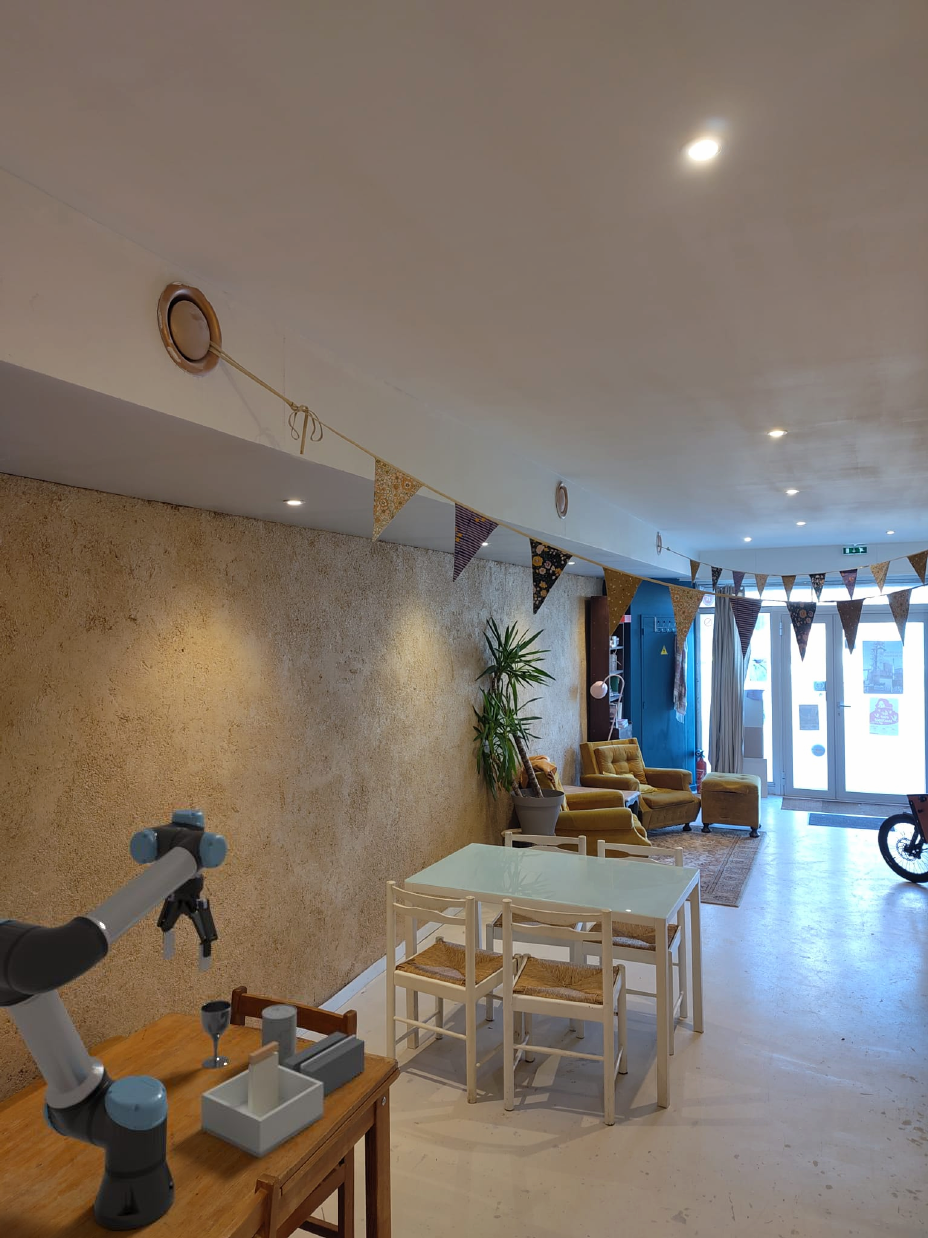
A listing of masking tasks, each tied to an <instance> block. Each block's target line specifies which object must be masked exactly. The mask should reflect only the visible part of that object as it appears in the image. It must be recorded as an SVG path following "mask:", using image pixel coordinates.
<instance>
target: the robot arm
mask: <svg viewBox="0 0 928 1238" xmlns="http://www.w3.org/2000/svg"><path fill="white" fill-rule="evenodd" d="M170 821H171V822H170V823H166V824H161V825H158V826H154V827H153V826H152V827H147V828H145V829H142V830H140V831H137V832H136V833H134V834H133V835H132V837H131V839H130V841H129V853H130V856H131V858H132V859H133V861H134V862H136V863H137V864H140V865H146V864H151V865H150V866H148V867H147V868H146V869H144V870H143V871H142V872H141V873H139V874H138V875H137V876H136V877H134V878H132V880H130V881H129V882H127V884H125V885H124V886H123V887H121V888H120V889H118V890H117V891H116V892H114V893H113V894H112V895H111V896H110V897H108V898H107V899H105V900H104V901H103V902H102V903H101V904H99V905H98V906H97V907H95V908H94V909H93V910H91V911H90V912H89V913H87V914H86V915H77V916H75V917H74V918H73V919H71V920H70V921H69V922H67V923H65V924H63V925H58V926H55V927H46V926H44V925H43V926H42V925H38V924H33V923H28V922H27V923H26V922H24V921H23V922H22V921H19V920H17V919H14V918H8V919H5V918H0V1008H1V1009H4V1008H5V1009H7V1011H8V1013H9V1015H10V1016H11V1018H12V1020H13V1022H14V1024H15V1026H16V1027H17V1030H18V1031H19V1034H20V1035H21V1037H22V1039H23V1040H24V1043H25V1045H26V1046H27V1048H28V1050H29V1052H30V1054H31V1056H32V1058H33V1060H34V1061H35V1063H36V1065H37V1068H38V1069H39V1070H40V1073H41V1074H42V1077H43V1079H44V1080H45V1082H46V1084H47V1087H46V1090H45V1094H44V1095H45V1096H44V1101H45V1104H44V1105H43V1107H42V1112H43V1119H44V1120H45V1123H46V1125H47V1126H48V1127H49V1128H50V1129H51V1130H52V1131H55V1133H57V1134H59V1135H61V1136H63V1137H67V1138H71V1139H74V1140H78V1141H80V1142H84V1143H86V1144H87V1143H88V1144H90V1145H92V1146H95V1147H98V1148H101V1149H103V1150H104V1172H103V1176H102V1179H101V1181H100V1185H99V1189H98V1192H97V1194H96V1196H95V1199H94V1209H93V1211H94V1212H93V1213H94V1214H93V1215H94V1217H93V1218H94V1220H95V1221H96V1223H97V1224H98V1225H99V1226H100V1227H102V1228H105V1229H107V1230H112V1231H127V1230H129V1231H130V1230H133V1229H137V1228H141V1227H144V1226H147V1225H149V1224H152V1223H154V1222H155V1221H156V1220H158V1219H159V1218H161V1217H163V1216H164V1215H165V1214H166V1213H167V1212H168V1211H169V1210H170V1209H171V1207H172V1206H173V1204H174V1201H175V1191H176V1190H175V1189H176V1188H175V1182H174V1178H173V1176H172V1173H171V1169H170V1167H169V1164H168V1161H167V1136H168V1135H167V1134H168V1111H169V1110H168V1109H169V1108H168V1106H169V1105H168V1104H169V1103H168V1099H167V1089H166V1087H165V1085H164V1084H163V1082H162V1081H160V1080H159V1079H156V1078H155V1077H152V1076H149V1075H143V1074H141V1075H139V1076H136V1075H128V1076H125V1077H121V1078H120V1079H118V1080H115V1079H112V1078H111V1076H110V1075H109V1074H108V1071H107V1070H106V1067H105V1066H104V1063H103V1062H102V1061H101V1059H100V1058H98V1057H96V1056H90V1054H89V1053H88V1051H87V1048H86V1046H85V1044H84V1043H83V1041H82V1038H81V1036H80V1034H79V1033H78V1030H77V1029H76V1027H75V1025H74V1023H73V1021H72V1018H71V1016H70V1014H69V1012H68V1011H67V1009H66V1008H67V1007H66V1006H65V1004H64V1002H63V1000H62V999H61V996H60V995H59V992H58V990H57V989H59V988H61V987H64V986H65V985H68V984H69V983H71V982H72V981H75V980H76V979H77V978H80V977H81V976H82V975H84V974H85V973H87V972H88V971H90V970H91V969H93V968H94V967H95V966H97V965H98V964H99V963H100V962H101V961H102V960H103V959H104V958H106V957H107V956H108V954H109V952H110V947H111V946H112V945H113V944H114V943H115V942H117V941H118V940H119V939H120V938H121V937H122V936H123V935H125V934H126V933H127V932H128V931H130V930H131V929H132V928H133V927H134V926H135V925H137V924H138V923H139V922H140V921H141V920H142V919H144V918H145V917H146V916H147V915H148V914H149V913H151V912H152V911H153V910H154V909H155V908H157V907H158V906H159V905H161V904H162V902H163V901H164V902H163V905H162V908H161V911H160V914H159V916H158V919H157V922H156V927H157V928H160V930H161V931H162V944H163V945H162V949H163V950H162V951H163V952H162V960H164V961H165V960H169V959H172V958H175V952H176V951H175V949H176V948H175V943H176V942H175V940H176V939H175V938H176V934H175V933H176V930H175V925H176V923H177V922H178V920H179V918H180V917H181V915H184V916H186V917H188V920H191V922H192V924H193V927H194V929H195V931H196V934H197V936H198V938H199V940H200V942H199V943H198V973H202V972H205V971H208V970H210V969H211V956H212V943H213V942H215V941H217V940H218V939H219V937H218V936H219V935H218V932H217V929H216V925H215V922H214V918H213V915H212V911H211V905H210V903H211V902H210V898H209V897H207V898H204V899H203V898H201V892H202V891H204V886H205V885H204V881H205V879H204V878H205V877H204V875H203V873H204V871H205V870H204V868H205V869H208V870H209V869H217V868H218V867H220V866H221V865H222V863H223V862H225V859H226V857H227V852H228V846H227V845H228V844H227V841H226V839H225V837H223V835H221V834H219V833H218V834H217V833H213V832H210V831H205V829H206V827H205V814H204V812H203V811H202V810H200V809H195V808H194V809H190V808H189V809H188V808H187V809H179V810H176V811H174V812H173V813H172V814H171V820H170Z"/></svg>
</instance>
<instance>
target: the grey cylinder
mask: <svg viewBox="0 0 928 1238" xmlns="http://www.w3.org/2000/svg"><path fill="white" fill-rule="evenodd" d="M297 1012H298V1009H297V1007H296V1006H294V1005H292V1004H285V1003H282V1004H281V1003H280V1004H273V1005H270V1006H268V1007H266V1008H264V1009H263V1010H262V1012H261V1017H262V1018H261V1019H262V1021H261V1048H262V1047H264V1046H266V1045H268V1044H270V1043H272V1042H274V1041H275V1042H277V1043H279V1050H277V1051H275V1052H278V1065H280V1066H283V1061H284V1060H286V1059H288V1058H289V1057H291V1056H293V1055H295V1054H297V1023H298V1021H297V1018H298V1017H297V1016H298V1015H297Z"/></svg>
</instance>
